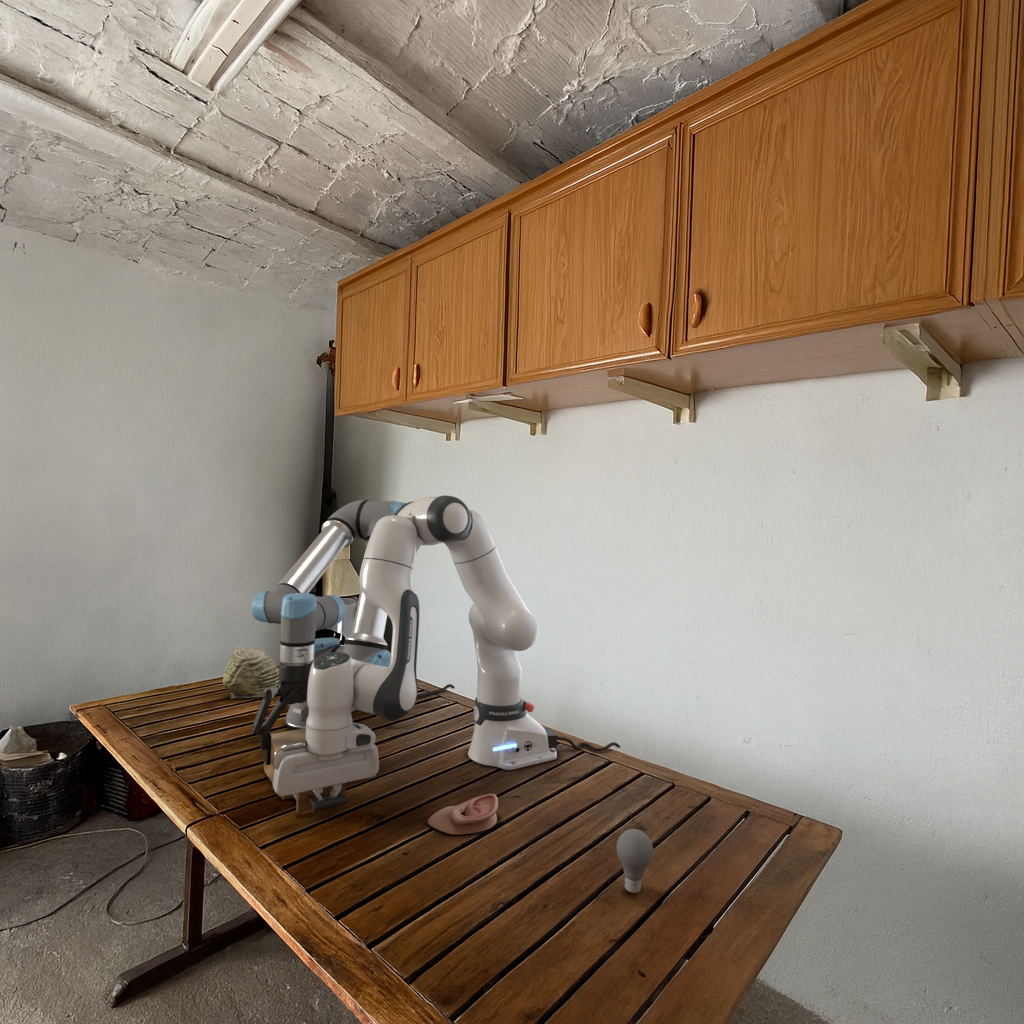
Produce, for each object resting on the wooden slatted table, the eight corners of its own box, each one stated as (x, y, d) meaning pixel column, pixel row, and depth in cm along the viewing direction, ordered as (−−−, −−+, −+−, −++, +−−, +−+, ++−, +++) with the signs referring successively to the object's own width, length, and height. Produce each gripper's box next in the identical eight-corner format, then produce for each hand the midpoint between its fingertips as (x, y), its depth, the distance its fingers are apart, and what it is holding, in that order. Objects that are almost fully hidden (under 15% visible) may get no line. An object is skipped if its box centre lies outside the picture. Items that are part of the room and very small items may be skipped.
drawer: (354, 812, 126) (355, 782, 126) (305, 825, 120) (307, 792, 120) (321, 773, 143) (322, 746, 143) (277, 782, 137) (278, 754, 137)
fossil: (218, 695, 195) (220, 647, 195) (278, 685, 208) (279, 640, 207) (228, 703, 189) (230, 653, 188) (289, 692, 201) (290, 645, 201)
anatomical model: (422, 809, 122) (441, 784, 133) (421, 830, 122) (440, 802, 133) (489, 819, 119) (502, 792, 130) (488, 840, 119) (502, 811, 130)
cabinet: (333, 788, 138) (335, 751, 138) (282, 800, 132) (284, 761, 132) (310, 760, 151) (312, 726, 151) (263, 770, 145) (264, 734, 145)
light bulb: (610, 879, 108) (613, 822, 108) (644, 879, 109) (647, 822, 109) (619, 902, 102) (622, 840, 102) (655, 901, 103) (658, 840, 103)
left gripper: (246, 672, 135) (242, 774, 135) (352, 660, 148) (348, 753, 148) (239, 663, 141) (235, 761, 141) (341, 653, 154) (337, 742, 154)
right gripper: (278, 752, 116) (275, 827, 117) (383, 734, 128) (380, 801, 128) (270, 741, 122) (267, 812, 122) (371, 723, 133) (369, 789, 133)
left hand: (293, 757), depth 145 cm, fingers closed on cabinet, 11 cm apart
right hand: (326, 806), depth 125 cm, fingers closed, pressing on drawer
